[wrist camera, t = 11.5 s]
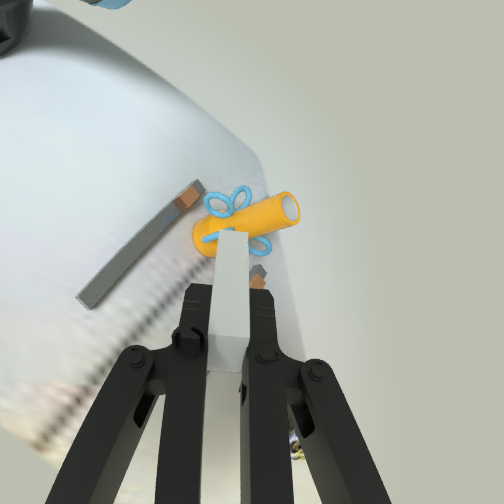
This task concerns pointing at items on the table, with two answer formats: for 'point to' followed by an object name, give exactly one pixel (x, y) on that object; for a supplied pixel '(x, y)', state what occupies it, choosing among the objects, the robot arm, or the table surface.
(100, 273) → the guide track
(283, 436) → the robot arm
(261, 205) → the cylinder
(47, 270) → the table surface
